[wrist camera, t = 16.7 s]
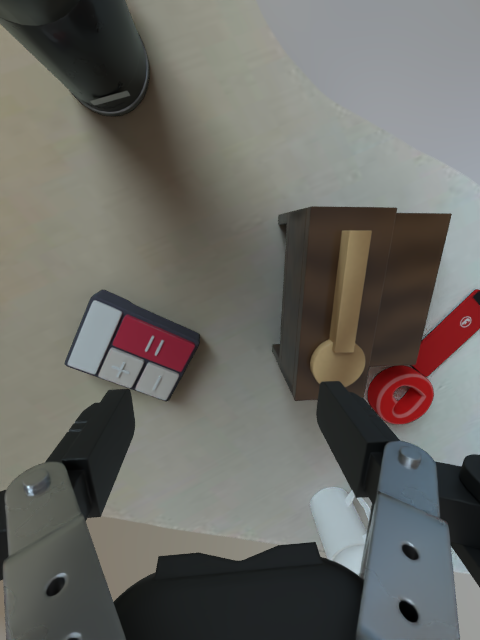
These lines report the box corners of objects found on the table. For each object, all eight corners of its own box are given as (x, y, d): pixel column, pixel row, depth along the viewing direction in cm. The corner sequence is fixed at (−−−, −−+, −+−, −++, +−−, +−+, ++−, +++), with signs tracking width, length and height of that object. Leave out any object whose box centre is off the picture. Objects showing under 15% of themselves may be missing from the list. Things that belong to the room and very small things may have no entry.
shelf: (278, 214, 36) (311, 206, 23) (416, 216, 37) (514, 209, 25) (271, 351, 42) (294, 401, 30) (389, 347, 44) (458, 393, 31)
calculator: (167, 406, 39) (60, 368, 35) (170, 389, 43) (74, 353, 39) (200, 344, 37) (89, 296, 33) (200, 332, 41) (101, 288, 37)
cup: (367, 478, 53) (400, 533, 43) (336, 520, 56) (361, 580, 46) (332, 468, 51) (358, 522, 41) (302, 511, 54) (320, 571, 45)
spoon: (307, 385, 29) (312, 393, 28) (322, 230, 24) (329, 230, 23) (356, 383, 30) (364, 391, 28) (381, 230, 25) (392, 230, 23)
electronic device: (423, 376, 46) (495, 310, 43) (426, 378, 45) (499, 311, 42) (403, 358, 44) (476, 288, 41) (405, 359, 44) (479, 288, 41)
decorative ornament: (428, 394, 47) (443, 405, 44) (380, 422, 48) (391, 435, 45) (409, 355, 44) (423, 363, 41) (358, 385, 45) (368, 396, 42)
